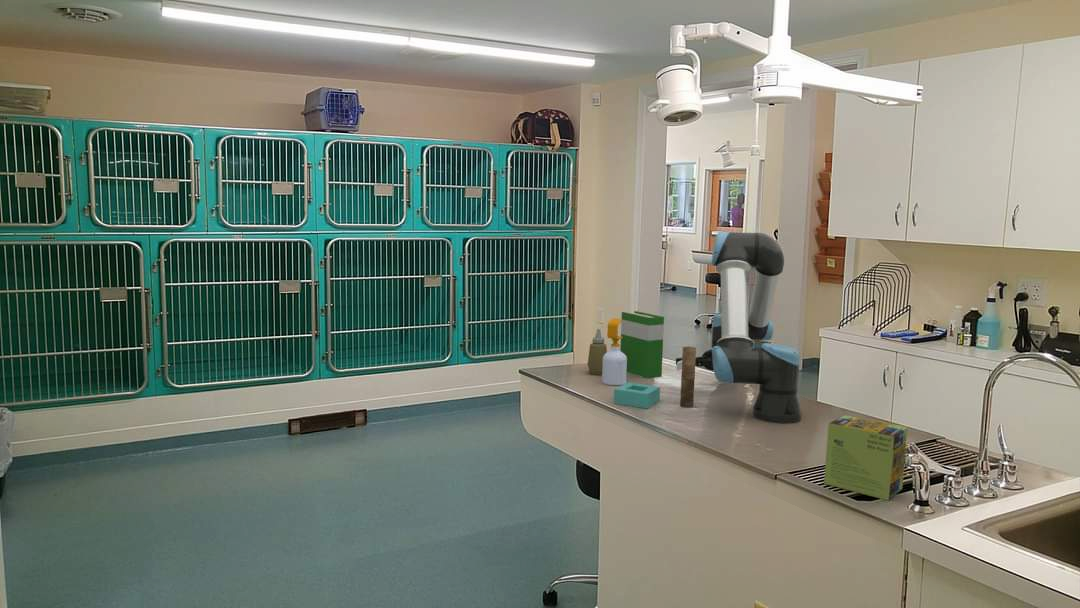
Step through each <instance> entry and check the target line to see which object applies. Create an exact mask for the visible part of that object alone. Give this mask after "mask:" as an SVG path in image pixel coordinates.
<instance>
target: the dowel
mask: <svg viewBox="0 0 1080 608" xmlns="http://www.w3.org/2000/svg"><path fill="white" fill-rule="evenodd" d="M681 354H682V356H681V358H682V369H681V376H680V377H681V378H680V401H679V405H680V407H681V408H687V409H689V408H694V400H695V399H694V398H695V382H696V381H695V378H696V366H695V361H696V356H697V347H696V346H695V347H694V346H682V353H681Z"/></svg>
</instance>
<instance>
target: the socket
mask: <svg viewBox="0 0 1080 608" xmlns="http://www.w3.org/2000/svg"><path fill="white" fill-rule="evenodd" d="M613 395H614V396H613V404H614V403H615V405H619V404H620V405H621V406H626V405H628V406H627V407H632V406H634V407H635V408H639V407H642V408H641V409H645V408H648V409H649V408H651V407H653V406H655V403H656V404H658V403H659V402H660V401H661V397H660V396H661V386H656V385H655V386H654V385H650V384H649V385H648V384H641V383H634V382H626V383H625V384H624V385H619V386H618V387H616V388H614V390H613ZM652 405H653V406H652ZM650 406H651V407H650Z"/></svg>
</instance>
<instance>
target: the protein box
mask: <svg viewBox="0 0 1080 608" xmlns="http://www.w3.org/2000/svg"><path fill="white" fill-rule="evenodd" d="M907 432H908V426H903V425H896V424H891V423H887V422H881V421H879V420H878V421H877V420H873V419H872V420H871V419H868V418H867V419H866V418H860V417H856V416H849V415H842V416H841V417H839V418H837V419H835V420H833V421H830V422H828V429H827V443H826V453H825V467H824V477H823V478H824V479H823V484H824V485H826V486H827V485H828V486H831V487H835V488H840V489H844V490H847V491H850V492H854V493H859V494H862V495H864V496H865V495H866V496H869V497H874V498H878V499H881V500H885V501H890V500H891V499H892V498H893V497H895V496H896V495H897V494H898V493H899V492H900V491H902V490H903V486H904V469H905V457H906V448H907V447H906V445H907V437H908V436H907V435H908V433H907Z"/></svg>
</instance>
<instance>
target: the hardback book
mask: <svg viewBox="0 0 1080 608" xmlns="http://www.w3.org/2000/svg"><path fill="white" fill-rule="evenodd" d="M621 319H622V321H621V322H620V324H621V325H620V326H621V327H620V336H621V337H622V338H621V339H620V351H621V352H622V353H624V354H625V355H626V357H627V372H626V373H628V372H629V373H628V374H631V373H632V375H634V374H635V376H637V375H639V376H638V377H640V376H642V377H641V378H644V379H647V378H648V379H654V377H655V378H661V377H662V375H663V355H664V353H663V351H664V329H665V328H664V325H665V316H662V315H657V314H651V313H647V312H641V311H636V310H634V311H633V312H625V311H621Z"/></svg>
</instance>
